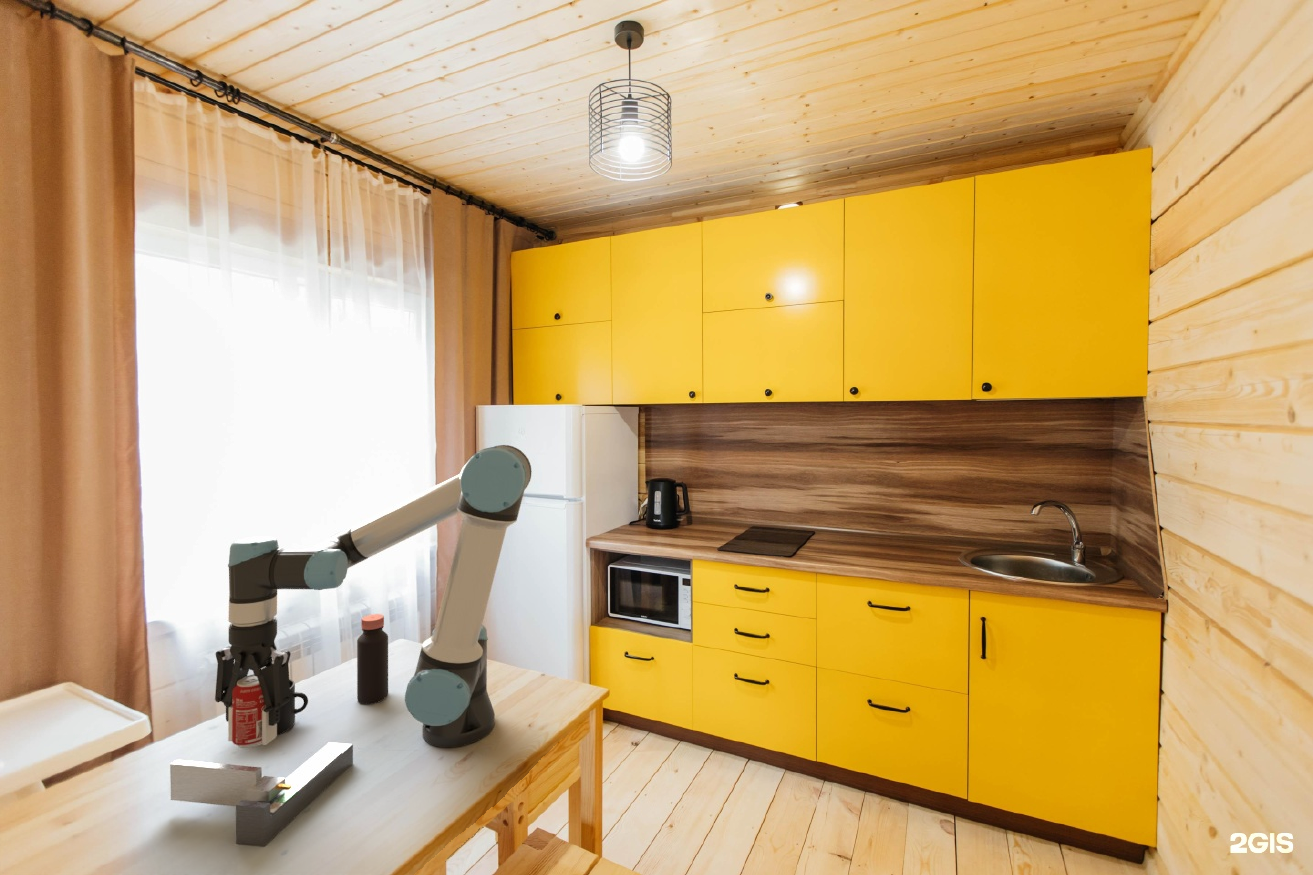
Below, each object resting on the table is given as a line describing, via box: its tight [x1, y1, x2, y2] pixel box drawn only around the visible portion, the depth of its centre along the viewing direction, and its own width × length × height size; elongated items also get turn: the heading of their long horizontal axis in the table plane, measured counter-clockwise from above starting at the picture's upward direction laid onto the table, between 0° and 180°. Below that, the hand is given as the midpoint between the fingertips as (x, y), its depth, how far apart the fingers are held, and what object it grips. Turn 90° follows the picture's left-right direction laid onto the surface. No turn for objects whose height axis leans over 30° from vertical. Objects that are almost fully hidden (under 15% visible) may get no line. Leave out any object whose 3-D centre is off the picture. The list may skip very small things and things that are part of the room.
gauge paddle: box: [169, 759, 292, 807], centre depth 97 cm, size 22×4×6 cm, turn 84°
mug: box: [273, 678, 309, 736], centre depth 125 cm, size 9×12×9 cm
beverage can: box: [231, 673, 266, 749], centre depth 108 cm, size 6×6×12 cm
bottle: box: [356, 613, 389, 705], centre depth 138 cm, size 7×7×20 cm
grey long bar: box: [235, 741, 354, 848], centre depth 102 cm, size 5×22×6 cm, turn 174°
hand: (252, 738), depth 108 cm, fingers closed on beverage can, 6 cm apart
